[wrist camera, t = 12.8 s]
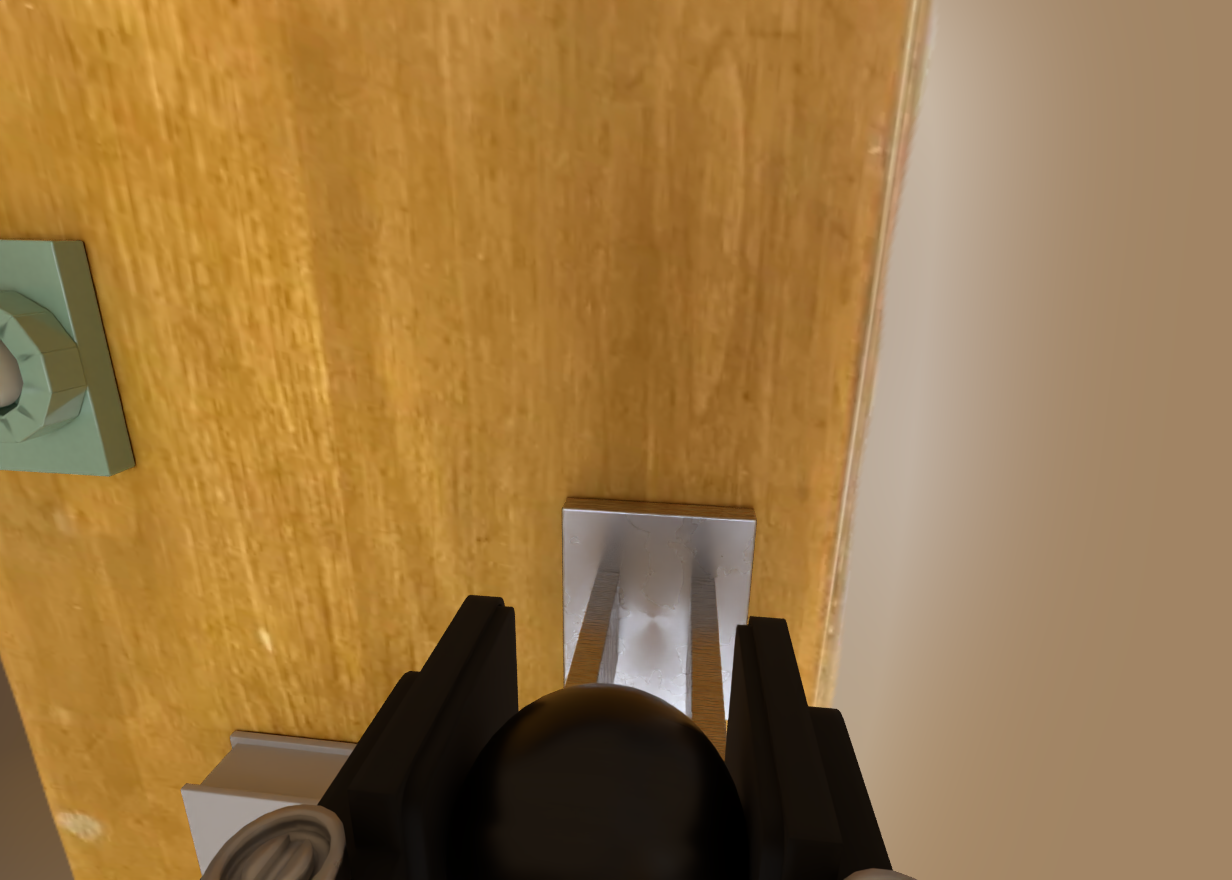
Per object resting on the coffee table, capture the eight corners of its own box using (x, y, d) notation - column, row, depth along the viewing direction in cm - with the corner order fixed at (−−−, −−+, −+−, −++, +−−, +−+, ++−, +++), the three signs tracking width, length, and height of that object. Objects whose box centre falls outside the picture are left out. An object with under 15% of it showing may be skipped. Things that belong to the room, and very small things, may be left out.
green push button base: (-46, 237, 27) (-134, 237, 24) (84, 240, 26) (10, 240, 23) (19, 459, 30) (-52, 482, 27) (137, 466, 29) (77, 490, 26)
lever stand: (566, 496, 27) (415, 813, 12) (754, 507, 26) (840, 862, 11) (568, 688, 30) (449, 1129, 15) (736, 703, 29) (784, 1185, 14)
